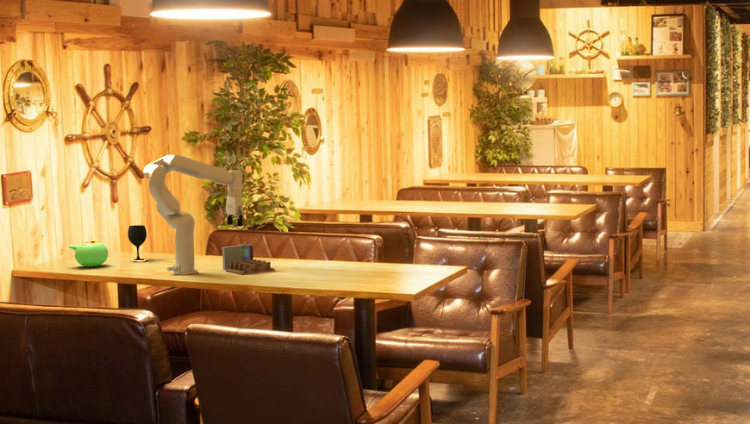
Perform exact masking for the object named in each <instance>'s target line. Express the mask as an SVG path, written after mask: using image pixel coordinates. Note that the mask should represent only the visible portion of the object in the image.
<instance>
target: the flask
mask: <svg viewBox="0 0 750 424" xmlns="http://www.w3.org/2000/svg"><path fill="white" fill-rule="evenodd" d="M243 243H244V244H240V245H241V246H242V260H243V261H245V260H253V259H254V246H253V244H251V243H248V241H243Z"/></svg>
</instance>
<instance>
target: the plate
mask: <svg viewBox="0 0 750 424" xmlns="http://www.w3.org/2000/svg"><path fill="white" fill-rule="evenodd" d="M221 249H222V250H221V251H222V253H221V254H222V270H224V271H226V269H230V264H229V262H236V261H243V260H242V246H241V244H238V245H230V246H222V248H221Z"/></svg>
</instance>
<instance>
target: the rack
mask: <svg viewBox="0 0 750 424" xmlns="http://www.w3.org/2000/svg"><path fill="white" fill-rule="evenodd" d="M229 264H230V269H226V270H225V273H232V274H237V275H241V276H243V275H250V274H251V275H252V273H253V274H258V273H269V272H273V271H274V272H275V271H276V270H275V269H276V268H274V267H271V261H266V260H262V259H261V260H260V259H258V260H257V259H254V258H253V260H245V261H236V262H229Z"/></svg>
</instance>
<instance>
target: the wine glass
mask: <svg viewBox="0 0 750 424" xmlns="http://www.w3.org/2000/svg"><path fill="white" fill-rule="evenodd" d="M147 235H148V233H147V228H146V226H145V225H142V224H140V225H139V224H136V225H129V226H128V229H127V237H128V240H129V243H131V245H133V246H134V247H136V258H133V259H134V260H144V259H145V258H140V254H139V253H140V246H142V245H143V244H144V243H145V241H146V239H147Z"/></svg>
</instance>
